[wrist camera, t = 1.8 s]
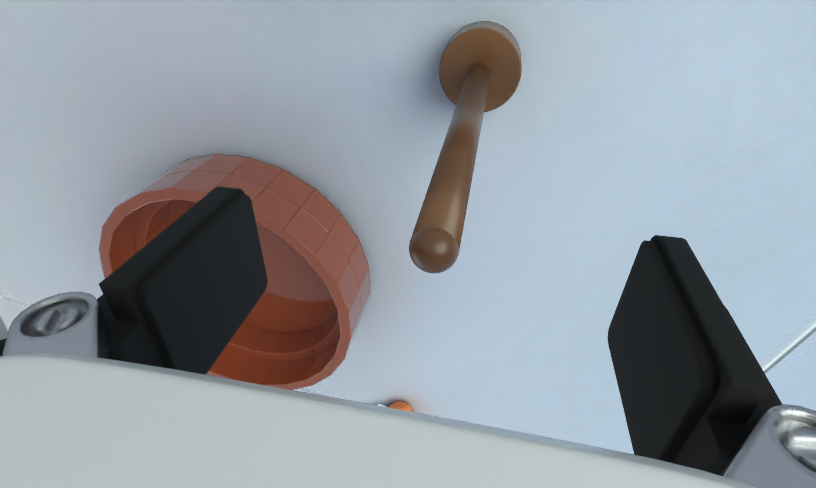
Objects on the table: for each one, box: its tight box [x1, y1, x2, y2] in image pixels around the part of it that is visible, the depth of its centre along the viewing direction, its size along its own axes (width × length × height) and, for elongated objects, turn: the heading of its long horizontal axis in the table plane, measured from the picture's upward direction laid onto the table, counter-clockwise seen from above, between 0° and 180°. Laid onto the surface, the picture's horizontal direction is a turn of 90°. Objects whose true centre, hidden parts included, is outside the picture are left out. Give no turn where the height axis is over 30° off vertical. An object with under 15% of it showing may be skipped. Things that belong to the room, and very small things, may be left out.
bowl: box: [99, 154, 370, 390], centre depth 36 cm, size 20×20×6 cm
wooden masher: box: [409, 21, 521, 273], centre depth 18 cm, size 4×4×19 cm
